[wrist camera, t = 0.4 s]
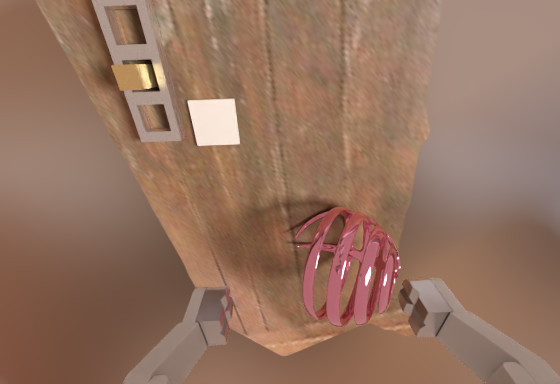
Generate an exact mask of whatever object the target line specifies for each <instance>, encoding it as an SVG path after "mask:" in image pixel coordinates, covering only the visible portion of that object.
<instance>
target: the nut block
mask: <svg viewBox="0 0 560 384" xmlns="http://www.w3.org/2000/svg"><path fill="white" fill-rule="evenodd" d="M111 67H112V70H113V72H114V75H115V78H116V81H117V83H118V86H119V89H120V91H122V90H143V89H148V88H153V87H159V85H158V82H157V78H156V75H155V71H154V67H153V64H127V65H111Z"/></svg>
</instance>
